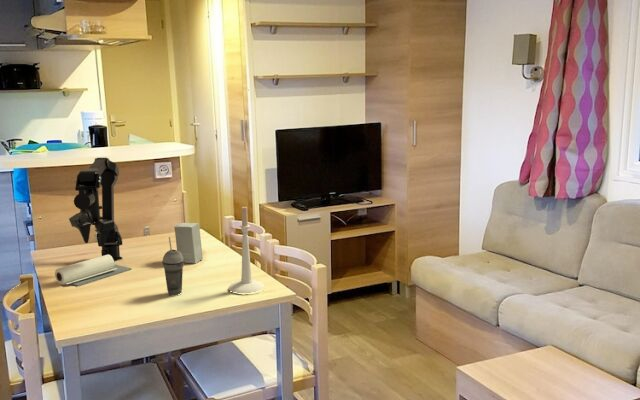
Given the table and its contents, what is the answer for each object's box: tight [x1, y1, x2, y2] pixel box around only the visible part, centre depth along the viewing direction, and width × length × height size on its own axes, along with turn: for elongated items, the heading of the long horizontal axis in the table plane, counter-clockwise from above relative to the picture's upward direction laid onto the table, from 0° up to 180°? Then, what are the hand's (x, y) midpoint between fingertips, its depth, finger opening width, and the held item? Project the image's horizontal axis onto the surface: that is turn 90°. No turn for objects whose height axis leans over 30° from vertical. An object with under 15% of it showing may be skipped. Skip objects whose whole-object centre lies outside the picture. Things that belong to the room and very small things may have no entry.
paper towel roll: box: [54, 255, 117, 286], centre depth 224 cm, size 7×6×21 cm
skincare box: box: [173, 222, 204, 264], centre depth 243 cm, size 8×7×16 cm
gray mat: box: [68, 263, 133, 287], centre depth 227 cm, size 24×11×1 cm, turn 147°
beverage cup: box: [162, 236, 185, 296], centre depth 204 cm, size 7×7×20 cm
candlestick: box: [228, 205, 265, 293], centre depth 207 cm, size 13×13×30 cm
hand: (94, 244), depth 225 cm, fingers open, 9 cm apart
